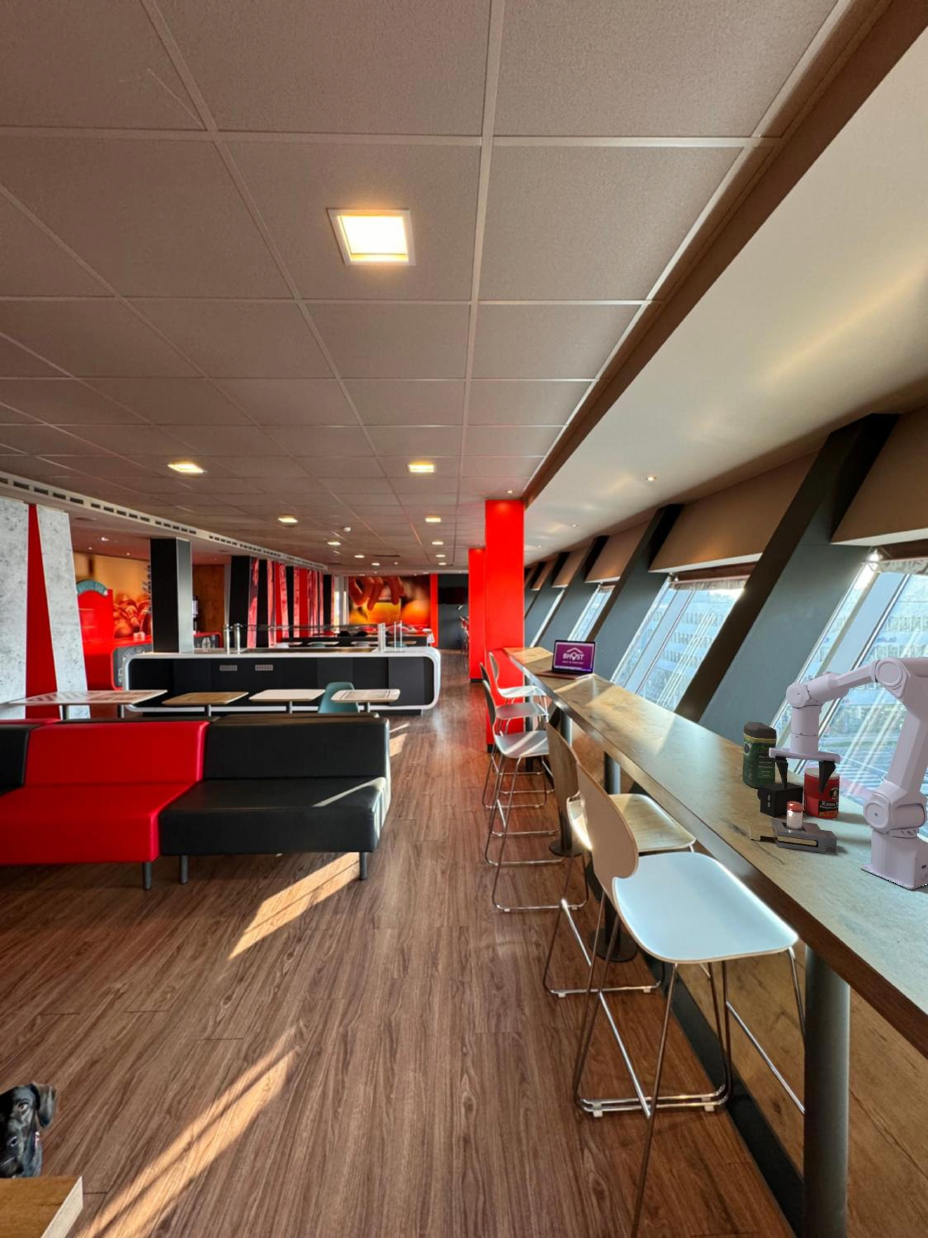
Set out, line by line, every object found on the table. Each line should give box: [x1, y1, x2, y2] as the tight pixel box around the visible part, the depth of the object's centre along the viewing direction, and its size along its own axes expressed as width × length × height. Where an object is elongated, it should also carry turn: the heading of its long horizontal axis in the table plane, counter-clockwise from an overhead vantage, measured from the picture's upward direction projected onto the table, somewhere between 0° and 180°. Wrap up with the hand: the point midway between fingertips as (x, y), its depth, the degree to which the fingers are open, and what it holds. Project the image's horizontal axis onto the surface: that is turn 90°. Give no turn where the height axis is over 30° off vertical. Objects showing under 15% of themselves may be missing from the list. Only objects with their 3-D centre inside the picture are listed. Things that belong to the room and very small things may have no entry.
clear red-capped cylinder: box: [786, 801, 804, 831], centre depth 128 cm, size 3×3×9 cm
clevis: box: [747, 817, 838, 854], centre depth 128 cm, size 17×8×4 cm, turn 71°
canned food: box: [803, 767, 841, 820], centre depth 146 cm, size 8×8×11 cm
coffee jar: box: [741, 721, 778, 789], centre depth 169 cm, size 10×8×19 cm
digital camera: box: [756, 781, 804, 819], centre depth 148 cm, size 10×5×7 cm, turn 112°
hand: (802, 789), depth 135 cm, fingers open, 7 cm apart
